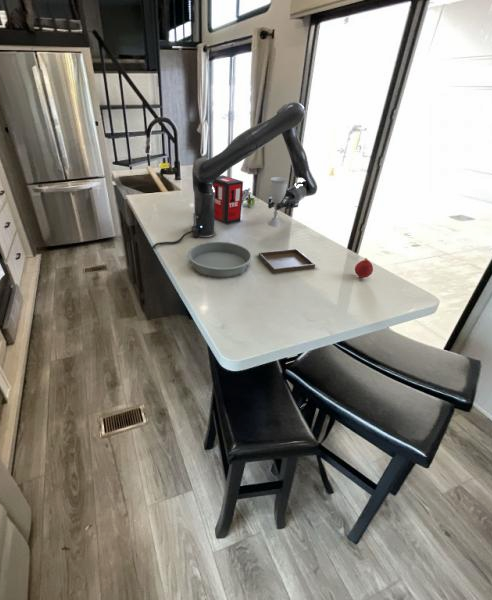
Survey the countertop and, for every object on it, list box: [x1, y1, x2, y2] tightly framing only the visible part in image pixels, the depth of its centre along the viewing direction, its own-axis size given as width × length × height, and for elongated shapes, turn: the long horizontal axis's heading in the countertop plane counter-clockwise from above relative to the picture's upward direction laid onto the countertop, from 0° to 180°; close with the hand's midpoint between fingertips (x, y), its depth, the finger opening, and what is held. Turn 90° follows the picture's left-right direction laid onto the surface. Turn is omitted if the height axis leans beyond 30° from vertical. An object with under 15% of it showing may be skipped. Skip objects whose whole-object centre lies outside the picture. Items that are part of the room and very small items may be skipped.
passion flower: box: [242, 187, 259, 209], centre depth 189 cm, size 11×11×12 cm
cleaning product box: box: [213, 174, 244, 225], centre depth 165 cm, size 16×9×20 cm, turn 34°
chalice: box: [267, 176, 290, 228], centre depth 126 cm, size 7×7×18 cm
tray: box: [257, 248, 316, 274], centre depth 126 cm, size 17×15×2 cm
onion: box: [354, 257, 374, 280], centre depth 114 cm, size 6×6×8 cm
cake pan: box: [187, 241, 253, 278], centre depth 123 cm, size 25×25×4 cm
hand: (273, 206), depth 125 cm, fingers closed on chalice, 3 cm apart
